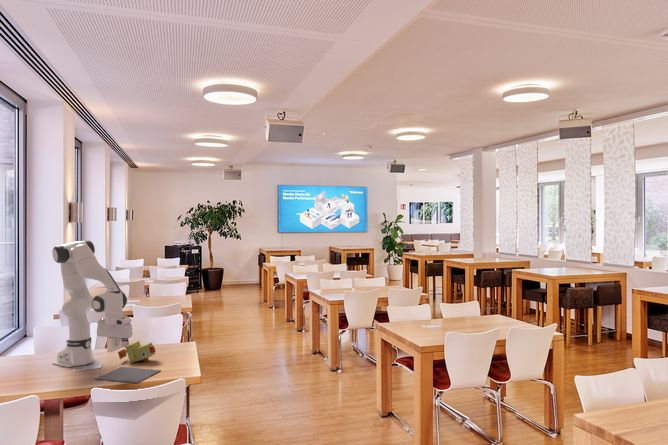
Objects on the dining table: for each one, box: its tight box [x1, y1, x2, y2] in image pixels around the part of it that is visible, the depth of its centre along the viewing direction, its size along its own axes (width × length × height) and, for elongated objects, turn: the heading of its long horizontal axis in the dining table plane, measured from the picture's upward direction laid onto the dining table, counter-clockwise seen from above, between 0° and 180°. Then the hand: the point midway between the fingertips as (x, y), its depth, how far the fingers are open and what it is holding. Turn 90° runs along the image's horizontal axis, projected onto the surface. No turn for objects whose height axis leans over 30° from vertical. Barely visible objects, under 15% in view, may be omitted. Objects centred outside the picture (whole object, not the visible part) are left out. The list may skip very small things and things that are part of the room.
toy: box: [117, 340, 157, 364], centre depth 287 cm, size 9×12×20 cm
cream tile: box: [106, 337, 123, 353], centre depth 260 cm, size 2×8×7 cm, turn 164°
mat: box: [94, 366, 162, 384], centre depth 262 cm, size 26×20×1 cm
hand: (114, 345), depth 260 cm, fingers closed on cream tile, 2 cm apart
